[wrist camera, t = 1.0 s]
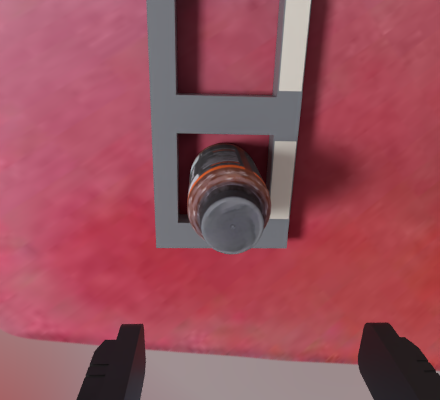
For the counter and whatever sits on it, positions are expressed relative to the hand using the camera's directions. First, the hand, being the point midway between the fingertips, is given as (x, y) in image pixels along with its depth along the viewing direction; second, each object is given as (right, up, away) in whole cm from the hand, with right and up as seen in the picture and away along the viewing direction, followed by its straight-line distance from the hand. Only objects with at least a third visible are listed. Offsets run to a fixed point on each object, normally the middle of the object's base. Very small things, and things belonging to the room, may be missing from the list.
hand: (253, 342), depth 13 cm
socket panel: (-1, +13, +18) cm, 22 cm away
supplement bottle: (-1, +8, +20) cm, 21 cm away
